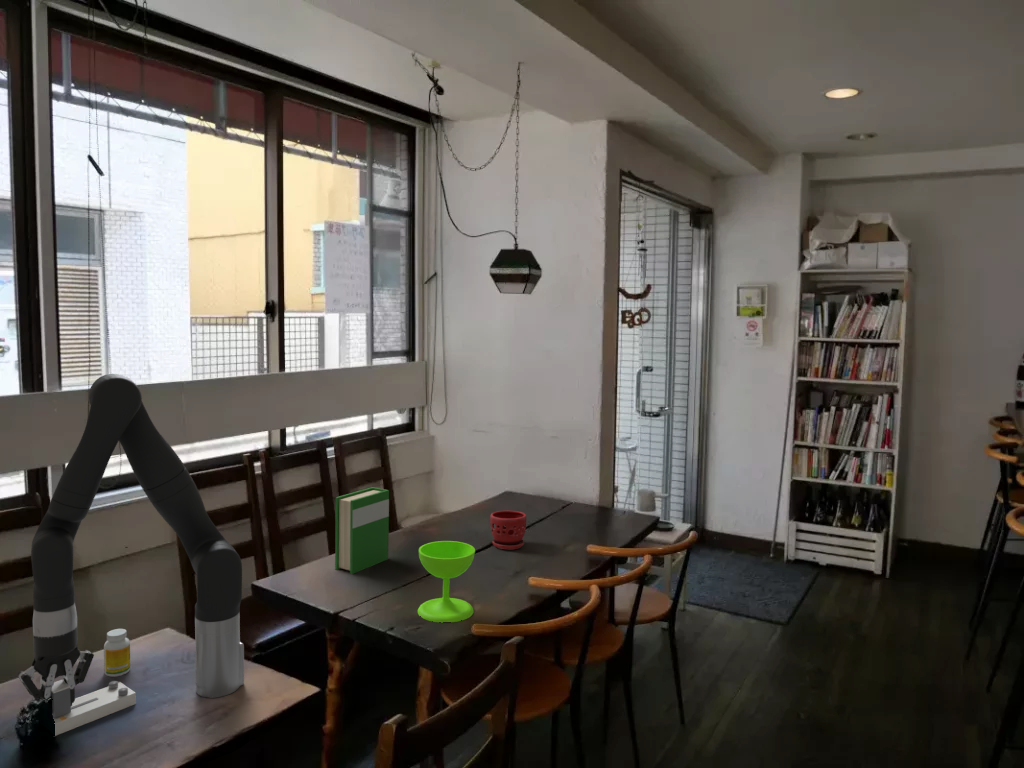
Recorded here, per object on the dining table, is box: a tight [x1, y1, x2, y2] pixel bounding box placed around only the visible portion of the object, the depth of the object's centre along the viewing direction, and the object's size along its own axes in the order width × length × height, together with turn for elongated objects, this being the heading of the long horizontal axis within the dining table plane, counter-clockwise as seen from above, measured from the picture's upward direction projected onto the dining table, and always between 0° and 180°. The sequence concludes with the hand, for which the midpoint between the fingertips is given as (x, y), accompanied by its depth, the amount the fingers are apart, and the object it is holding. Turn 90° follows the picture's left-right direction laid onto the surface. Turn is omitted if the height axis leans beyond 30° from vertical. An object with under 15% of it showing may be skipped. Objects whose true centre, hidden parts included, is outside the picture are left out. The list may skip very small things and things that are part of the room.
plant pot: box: [489, 510, 527, 551], centre depth 273 cm, size 13×13×12 cm
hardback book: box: [334, 486, 390, 575], centre depth 249 cm, size 18×7×24 cm, turn 149°
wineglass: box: [417, 540, 476, 624], centre depth 213 cm, size 16×16×18 cm
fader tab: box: [51, 679, 71, 718], centre depth 151 cm, size 3×4×6 cm
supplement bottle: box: [103, 628, 131, 678], centre depth 173 cm, size 5×5×10 cm
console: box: [53, 680, 137, 737], centre depth 156 cm, size 16×7×4 cm, turn 142°
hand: (58, 708), depth 151 cm, fingers closed on fader tab, 3 cm apart
